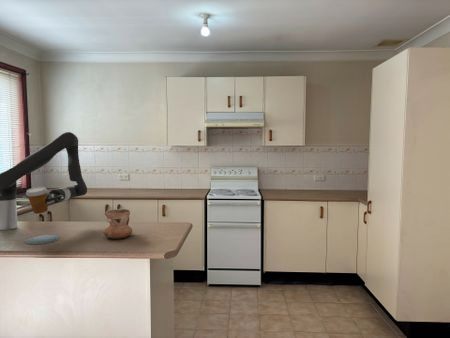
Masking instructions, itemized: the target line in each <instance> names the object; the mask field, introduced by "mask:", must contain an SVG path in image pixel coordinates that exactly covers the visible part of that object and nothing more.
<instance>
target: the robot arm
mask: <svg viewBox="0 0 450 338" xmlns="http://www.w3.org/2000/svg"><path fill="white" fill-rule="evenodd" d="M63 150H66V153H67V172H68V177H69V181H70V182H76V185H71V186H67V187H59V188H54V189H51V190H50V191H49V193H47V198H46V199H45V202H46V203H47V204H48V203H52V204H53V203H54V204H57V203H61V202H65V201H67V200H70V199H73V198H76V197H82V196H85V195H86V194H87V193H88V187H87V185H86V182H85V181H84V179H83V175H82V169H81V164H80V157H79V138H78V137H77V135H76V134H75V133H73V132H71V131H65V132H63V133H61V134H60V135H59V136H57V137H56V138H55V139H54V140H52V141H51V142H49V143H48V144H46V145H44V146H43V147H41V148H39V149H37V150H35V151H34V152H33V153H31V154H29V155H28V156H27V157H24V158H23V159H22V160H21V161H20V162H18V163H17V164H16V165H14V166H13V167H11V168H9V169H7V170H5V171H3V172H1V173H0V230H1V231H6V230H7V231H8V230H13V229H16V228H18V227H19V225H18V209H17V193H18V192H17V191H18V188H17V186H18V185H17V184H18V183H17V181H19V180H20V179H21V178H23V177H24V176H26V175H29V174H32V173H33V172H36V171H37V170H39V169H41V168H43V166H45V165H47V164H48V163H50V161H52V159H54V157H55V156H56V155H57V154H58V153H60V152H61V151H63Z"/></svg>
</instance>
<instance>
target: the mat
mask: <svg viewBox="0 0 450 338" xmlns="http://www.w3.org/2000/svg"><path fill="white" fill-rule="evenodd" d="M60 239H61V237H60V236H59V235H57V234H56V235H54V234H45V235H44V234H43V235H38V236H34V237H30V238H28V239H26V240H24V244H25V245H31V246H32V245H33V246H34V245H35V246H36V244H38V245H44V244H50V243H53V242H57V241H59V240H60Z"/></svg>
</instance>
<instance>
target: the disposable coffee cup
mask: <svg viewBox="0 0 450 338" xmlns="http://www.w3.org/2000/svg"><path fill="white" fill-rule="evenodd" d="M25 194H26V196H27V199H28V201H29V203H30V206H31V208H32V212H33V213H34V214H43V213H46V212H48V209H49V208H48V203H46V202H45V199H46V198H47V194H48V189H47V187H45V186H34V187H31V188H29V189H27V190H26V192H25Z"/></svg>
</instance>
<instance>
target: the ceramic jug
mask: <svg viewBox="0 0 450 338" xmlns="http://www.w3.org/2000/svg"><path fill="white" fill-rule="evenodd" d="M130 214H131V210H130V209H128V208H127V209H126V208H114V209H108V210H106V211H105V216H106V219H107V220H106V223H109V225H108V226H107V227H105V229H104V230H103V234H104V236H105V237H106V238H108V239H112V240H120V239H126V238H128V237H129V236H130V235H132V234H133V228H132V227H131V226H129V223H130Z"/></svg>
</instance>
